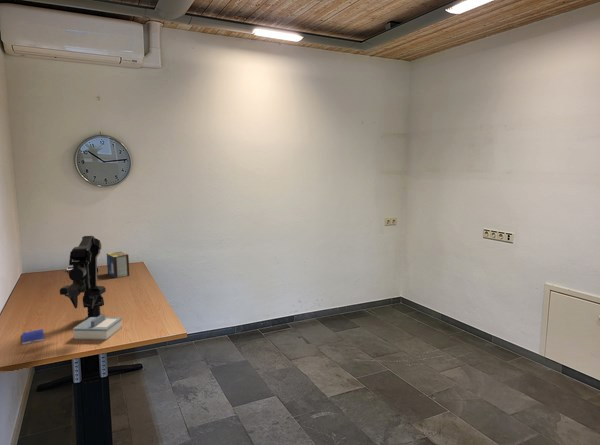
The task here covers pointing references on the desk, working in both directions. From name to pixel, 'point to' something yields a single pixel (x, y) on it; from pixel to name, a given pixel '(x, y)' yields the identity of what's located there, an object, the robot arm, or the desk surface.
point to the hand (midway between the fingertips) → (83, 308)
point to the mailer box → (97, 333)
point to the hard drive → (32, 336)
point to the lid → (97, 323)
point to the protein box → (118, 264)
